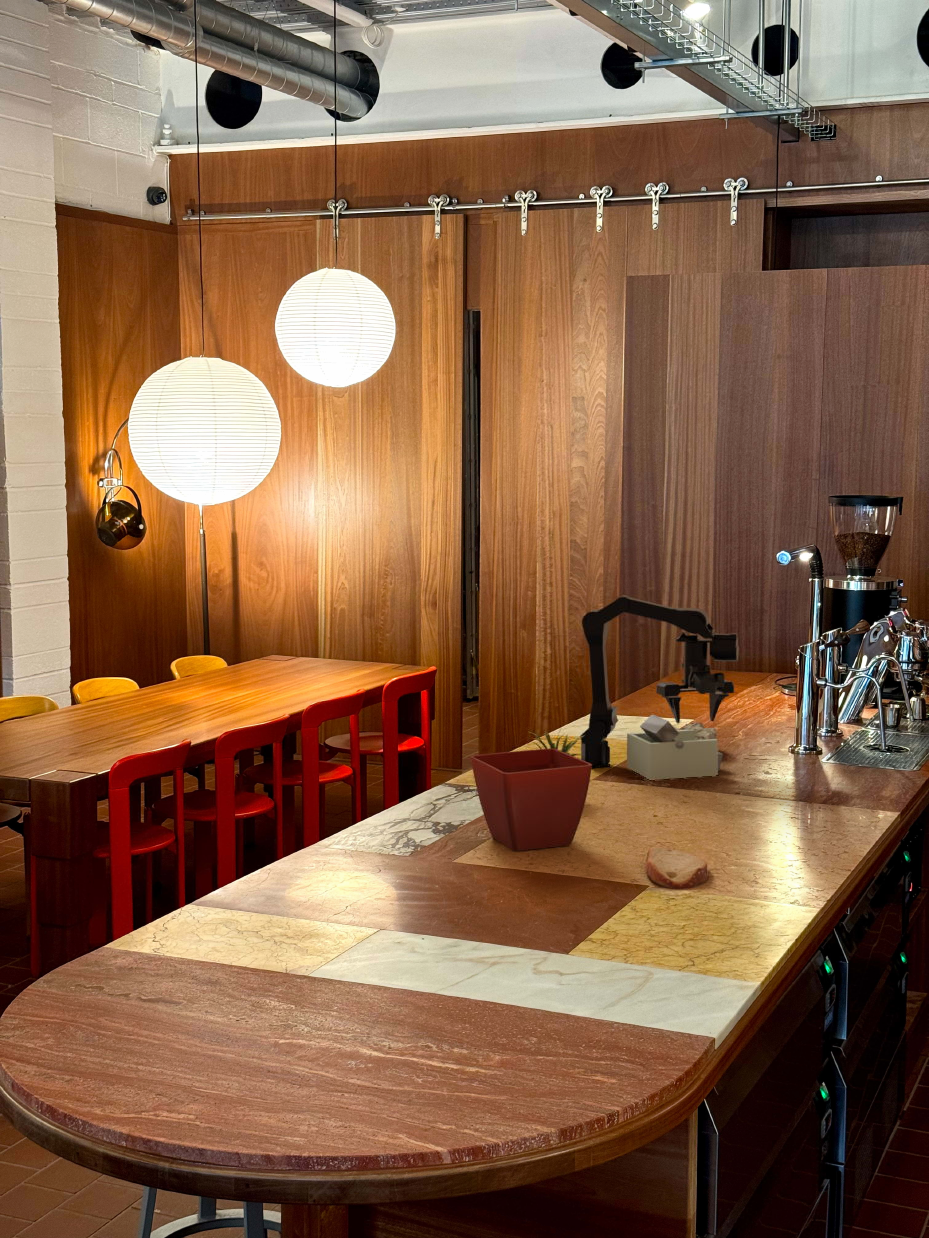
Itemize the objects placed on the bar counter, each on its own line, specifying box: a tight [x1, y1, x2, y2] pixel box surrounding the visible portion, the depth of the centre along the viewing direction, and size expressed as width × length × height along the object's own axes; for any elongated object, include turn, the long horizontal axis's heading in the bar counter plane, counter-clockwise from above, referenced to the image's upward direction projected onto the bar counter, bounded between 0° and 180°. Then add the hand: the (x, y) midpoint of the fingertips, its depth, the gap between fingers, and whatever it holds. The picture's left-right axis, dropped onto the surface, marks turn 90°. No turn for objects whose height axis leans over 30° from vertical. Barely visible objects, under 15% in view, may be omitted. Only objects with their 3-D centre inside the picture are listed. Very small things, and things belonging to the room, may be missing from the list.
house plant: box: [529, 728, 585, 757], centre depth 310 cm, size 14×14×16 cm
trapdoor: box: [639, 714, 679, 743], centre depth 335 cm, size 16×12×4 cm
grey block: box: [718, 751, 724, 772], centre depth 338 cm, size 4×6×6 cm
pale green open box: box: [626, 729, 719, 781], centre depth 335 cm, size 18×16×9 cm
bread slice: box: [644, 846, 709, 890], centre depth 252 cm, size 18×18×4 cm
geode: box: [673, 721, 717, 740], centre depth 358 cm, size 17×9×15 cm
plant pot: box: [470, 747, 593, 852], centre depth 273 cm, size 19×19×17 cm
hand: (695, 722), depth 336 cm, fingers open, 9 cm apart
